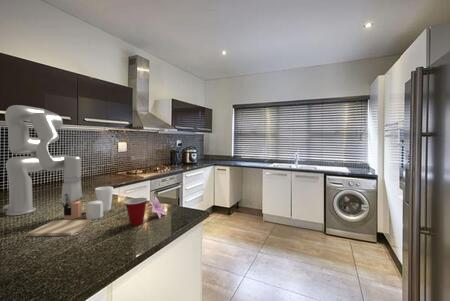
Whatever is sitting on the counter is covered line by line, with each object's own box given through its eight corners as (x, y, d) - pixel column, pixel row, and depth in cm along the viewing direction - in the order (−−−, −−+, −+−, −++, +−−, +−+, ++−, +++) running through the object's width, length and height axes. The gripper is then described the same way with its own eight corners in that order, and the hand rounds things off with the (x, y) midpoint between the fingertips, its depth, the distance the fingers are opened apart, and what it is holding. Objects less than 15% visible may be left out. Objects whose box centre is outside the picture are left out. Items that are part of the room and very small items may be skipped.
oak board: (26, 236, 92) (26, 233, 92) (53, 222, 108) (53, 220, 108) (71, 235, 94) (71, 232, 93) (91, 221, 109) (91, 219, 109)
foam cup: (105, 212, 124) (105, 190, 123) (91, 211, 125) (91, 189, 125) (116, 207, 133) (116, 186, 132) (103, 206, 135) (103, 186, 134)
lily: (147, 223, 111) (157, 207, 111) (137, 210, 118) (146, 195, 118) (165, 224, 120) (174, 209, 120) (155, 211, 127) (163, 197, 127)
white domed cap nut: (83, 219, 112) (83, 204, 112) (91, 214, 120) (91, 200, 119) (98, 219, 113) (98, 204, 113) (105, 214, 120) (104, 200, 120)
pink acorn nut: (60, 219, 112) (60, 204, 111) (69, 214, 119) (69, 200, 119) (75, 219, 112) (75, 204, 112) (83, 214, 120) (83, 200, 119)
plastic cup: (128, 219, 113) (128, 196, 113) (150, 219, 114) (150, 196, 114) (120, 227, 102) (120, 202, 102) (144, 227, 103) (144, 202, 103)
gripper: (75, 176, 123) (75, 207, 124) (53, 182, 106) (53, 218, 107) (88, 177, 124) (89, 207, 124) (69, 182, 106) (69, 218, 107)
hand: (72, 212), depth 116 cm, fingers closed on pink acorn nut, 7 cm apart
